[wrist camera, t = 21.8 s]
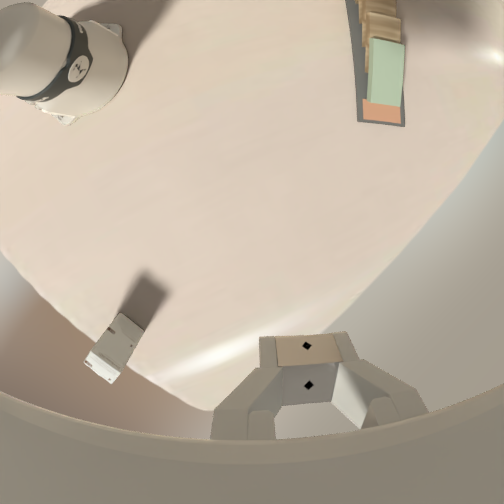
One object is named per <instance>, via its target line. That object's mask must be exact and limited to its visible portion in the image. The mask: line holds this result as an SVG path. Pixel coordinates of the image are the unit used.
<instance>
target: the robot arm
mask: <svg viewBox="0 0 504 504" xmlns="http://www.w3.org/2000/svg"><path fill="white" fill-rule="evenodd" d="M109 29H110V30H109ZM127 68H128V55H127V51H126V48H125V46H124V44H123V42H122V27H121V26H120V25H118V24H111V23H97V22H95V21H93V20H89V21H80V22H76V21H75V20H73V19H71V18H69V17H68V18H67V17H65V16H57V15H55V14H53V13H51V12H49V11H47V10H45V9H44V8H42V7H40V6H37V5H36V4H33V3H28V2H24V3H18V4H14V5H10V6H8V7H5V8H3V9H1V10H0V95H8V96H17V97H18V98H19V99H22V100H25V102H27V103H28V104H31V105H34V104H35V103H36V105H35V108H36V109H38V110H41V109H42V111H43V112H45V113H49V114H51V115H52V116H53V117H54V118H56V119H57V120H58V121H59V122H60V123H61V124H63V125H66V126H69V125H71V124H72V123H74V122H75V121H76V120H77V119H78V118H80V117H81V116H84V115H87V114H90V113H93V112H95V111H97V110H99V109H100V108H102V107H103V106H105V105H106V104H107V103H108V102H109V101H110V100H111V99H112V98H113V97H114V96H115V94H116V93H117V92H118V90H119V89H120V87H121V85H122V83H123V81H124V78H125V76H126V72H127ZM63 116H64V117H63ZM259 353H260V368H255V369H254V370H253V371H252V372H251V373H250V374H249V375H248V376H247V377H246V378H245V379H244V380H243V381H242V382H241V383H240V384H239V385H238V386H237V387H236V388H235V390H234V391H233V392H232V393H231V394H229V395H228V396H227V397H226V398H225V399H224V400H223V401H222V402H221V403H220V404H219V405H218V406H217V407H216V408H215V409H214V414H213V422H212V429H211V436H210V440H208V439H192V438H181V437H171V436H163V435H155V434H148V433H142V432H135V431H130V430H124V429H119V428H114V427H109V426H104V425H100V424H96V423H92V422H88V421H84V420H80V419H76V418H73V417H69V416H66V415H63V414H59V413H56V412H53V411H50V410H47V409H44V408H41V407H38V406H35V405H33V404H30V403H27V402H25V401H22V400H19V399H17V398H15V397H12V396H10V395H7V394H5V393H3V392H1V391H0V504H504V384H502V385H500V386H497V387H495V388H493V389H491V390H489V391H486V392H484V393H482V394H479V395H477V396H475V397H472V398H470V399H467V400H464V401H462V402H459V403H457V404H454V405H451V406H448V407H445V408H442V409H439V410H436V411H433V412H430V413H429V411H428V410H427V408H426V406H425V404H424V402H423V401H422V399H421V397H420V395H419V393H418V392H417V390H416V389H415V388H414V387H412V386H410V385H408V384H406V383H405V382H403V381H401V380H399V379H397V378H396V377H394V376H392V375H390V374H389V373H387V372H385V371H383V370H382V369H380V368H378V367H376V366H375V365H373V364H371V363H369V362H368V361H366V360H364V359H361V360H360V359H359V357H358V355H357V353H356V351H355V349H354V346H353V344H352V342H351V340H350V338H349V336H348V334H347V332H346V331H342V332H334V333H329V334H317V335H297V336H275V337H274V336H266V337H259ZM320 402H331V403H332V404H333V405H334V406H336V407H337V408H338V409H339V410H340V411H341V412H342V413H343V414H344V415H345V416H346V417H347V418H348V419H350V420H351V421H352V422H353V423H354V424H355V425H356V426H357V427H358V428H360V430H355V431H349V432H343V433H336V434H329V435H322V436H314V437H303V438H291V439H278V440H277V439H276V436H275V424H274V418H275V416H276V415H277V413H278V412H279V410H280V409H281V406H286V405H297V404H306V403H320Z"/></svg>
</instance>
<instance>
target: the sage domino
mask: <svg viewBox="0 0 504 504" xmlns="http://www.w3.org/2000/svg"><path fill="white" fill-rule="evenodd" d="M404 52H405V45H402V44H398V43H394V42H390V41H385V40H380V39H375V38H369V70H368V88H367V101H368V102H370V103H377V104H384V105H391V106H398V107H400V105H401V95H402V84H403V71H404Z"/></svg>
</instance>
